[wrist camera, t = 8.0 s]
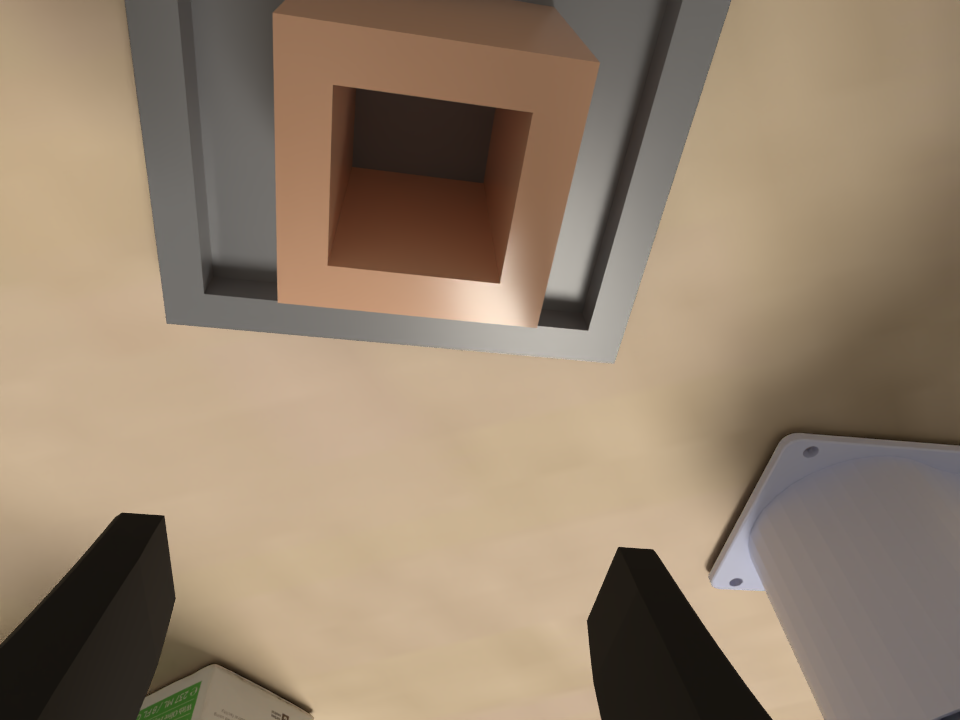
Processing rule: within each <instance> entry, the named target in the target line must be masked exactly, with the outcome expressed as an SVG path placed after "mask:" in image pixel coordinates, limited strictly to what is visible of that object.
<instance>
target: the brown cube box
mask: <svg viewBox="0 0 960 720" xmlns="http://www.w3.org/2000/svg"><path fill="white" fill-rule="evenodd" d="M599 65H600V62H599V61H598V59H597V58H596V57H595V56H594V55H593V53H592V52H591V51H590V50H589V49H588V47H587V46H586V45H585V44H584V43H583V41H582V40H581V39H580V38H579V36H578V35H577V34H576V33H575V32H574V30H573V29H572V28H571V27H570V26H569V24H568V23H567V22H566V21H565V19H564V18H563V17H562V16H561V15H560V13H559V12H558V11H557V10H556V9H555V7H552V6H545V5H539V4H533V3H527V2H521V1H515V0H285V1H284V2H283V3H282V4H281V5H280V6H279V7H278V8H277V9H276V10H275V11H274V12H273V68H274V124H275V181H276V237H277V294H278V303H284V304H294V305H305V306H315V307H325V308H336V309H346V310H356V311H366V312H377V313H387V314H397V315H407V316H418V317H428V318H438V319H448V320H459V321H469V322H479V323H489V324H500V325H510V326H520V327H530V328H537V326H538V322H539V318H540V313H541V309H542V305H543V301H544V297H545V292H546V288H547V284H548V280H549V276H550V271H551V267H552V263H553V259H554V255H555V250H556V246H557V242H558V238H559V234H560V229H561V225H562V221H563V217H564V213H565V208H566V204H567V200H568V196H569V191H570V187H571V183H572V179H573V175H574V170H575V166H576V162H577V158H578V154H579V149H580V145H581V141H582V137H583V133H584V128H585V124H586V120H587V116H588V112H589V107H590V103H591V99H592V95H593V90H594V86H595V82H596V78H597V74H598V69H599ZM356 88H360V89H367V90H374V91H382V92H389V93H396V94H403V95H410V96H417V97H424V98H431V99H439V100H446V101H453V102H460V103H467V104H474V105H481V106H489V107H496V109H495V115H494V121H493V127H492V133H491V140H490V146H489V152H488V158H487V164H486V171H485V177H484V183H477V182H469V181H461V180H453V179H445V178H437V177H429V176H421V175H413V174H405V173H397V172H389V171H381V170H373V169H365V168H357V167H352V161H353V141H354V120H355V99H356Z"/></svg>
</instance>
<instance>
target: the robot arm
mask: <svg viewBox="0 0 960 720" xmlns="http://www.w3.org/2000/svg"><path fill="white" fill-rule="evenodd" d="M809 447H810V448H809ZM807 448H808V449H807ZM708 577H709V580H710V582H711V585H712V586H713V587H714V588H718V589H733V590H755V591H766V593H767V595H768V598H769V600H770V602H771V604H772V606H773V609H774V611H775V613H776V615H777V617H778V619H779V622H780V624H781V626H782V628H783V630H784V633H785V635H786V637H787V639H788V641H789V644H790V646H791V648H792V650H793V652H794V654H795V657H796V659H797V661H798V663H799V665H800V668H801V670H802V672H803V674H804V676H805V679H806V681H807V683H808V685H809V687H810V690H811V692H812V694H813V696H814V698H815V700H816V703H817V705H818V707H819V709H820V711H821V714H822V716H823V718H824V720H960V446H958V445H945V444H933V443H920V442H907V441H895V440H882V439H869V438H856V437H844V436H831V435H818V434H805V433H792V434H789V435H787V436H785V437H784V438H782V440H781V441H780V442H779V444H778V446H777V447H776V449H775V451H774V453H773V455H772V457H771V459H770V461H769V462H768V464H767V466H766V468H765V470H764V472H763V474H762V476H761V477H760V479H759V481H758V483H757V485H756V487H755V489H754V491H753V492H752V494H751V496H750V498H749V500H748V502H747V504H746V506H745V507H744V509H743V511H742V513H741V515H740V517H739V519H738V521H737V522H736V524H735V526H734V528H733V530H732V532H731V534H730V536H729V537H728V539H727V541H726V543H725V545H724V547H723V549H722V551H721V552H720V554H719V556H718V558H717V560H716V562H715V564H714V566H713V567H712V569H711V571H710V573H709V576H708ZM175 599H176V598H175V591H174V584H173V576H172V569H171V561H170V554H169V547H168V539H167V532H166V524H165V517H164V516H162V515H148V514H133V513H121V514H120V515H118V516H116V517H115V518H114V519H113V521H112V522H111V523H110V524H109V525H108V527H107V528H106V529H105V530H104V531H103V533H102V534H101V535H100V536H99V537H98V538H97V540H96V541H95V542H94V543H93V544H92V545H91V547H90V548H89V549H88V550H87V551H86V552H85V554H84V555H83V556H82V557H81V558H80V559H79V561H78V562H77V563H76V564H75V565H74V566H73V567H72V568H71V570H70V571H69V572H68V573H67V574H66V575H65V576H64V577H63V578H62V580H61V581H60V582H59V583H58V584H57V585H56V586H55V587H54V588H53V590H52V591H51V592H50V593H49V594H48V595H47V596H46V597H45V598H44V599H43V600H42V601H41V603H40V604H39V605H38V606H37V607H36V608H35V609H34V610H33V611H32V612H31V613H30V614H29V615H28V616H27V617H26V618H25V619H24V620H23V622H22V623H21V624H20V625H19V626H18V627H17V628H16V629H15V630H14V631H13V632H12V633H11V634H10V635H9V636H8V637H7V638H6V639H5V640H4V642H3V643H2V644H1V645H0V720H136V719H137V717H138V714H139V712H140V709H141V706H142V704H143V701H144V699H145V696H146V694H147V691H148V689H149V686H150V683H151V681H152V678H153V676H154V673H155V670H156V668H157V665H158V661H159V658H160V654H161V651H162V647H163V644H164V640H165V637H166V633H167V629H168V625H169V621H170V618H171V614H172V610H173V606H174V602H175ZM587 625H588V636H589V646H590V656H591V665H592V673H593V682H594V687H595V692H596V697H597V701H598V706H599V710H600V715H601V720H772V718H771V717H770V716H769V715H768V713H767V712H766V711H765V709H764V708H763V707H762V706H761V704H760V703H759V702H758V700H757V699H756V698H755V696H754V695H753V693H752V692H751V691H750V689H749V688H748V687H747V685H746V684H745V683H744V681H743V680H742V679H741V677H740V676H739V674H738V673H737V672H736V670H735V669H734V667H733V666H732V665H731V663H730V662H729V660H728V659H727V658H726V656H725V655H724V653H723V652H722V651H721V649H720V648H719V646H718V645H717V644H716V642H715V641H714V639H713V638H712V636H711V635H710V633H709V632H708V630H707V629H706V628H705V626H704V625H703V623H702V622H701V620H700V619H699V617H698V616H697V614H696V613H695V611H694V610H693V608H692V607H691V605H690V604H689V602H688V601H687V599H686V598H685V596H684V595H683V593H682V592H681V590H680V589H679V587H678V585H677V584H676V582H675V581H674V579H673V578H672V576H671V575H670V573H669V572H668V570H667V569H666V567H665V566H664V564H663V563H662V561H661V560H660V558H659V557H658V555H657V554H656V552H655V551H654V550H653V549H639V548H625V547H618V549H617V551H616V554H615V556H614V558H613V561H612V563H611V566H610V568H609V570H608V573H607V575H606V577H605V580H604V582H603V584H602V587H601V589H600V591H599V594H598V596H597V598H596V601H595V603H594V605H593V608H592V610H591V613H590V615H589V617H588V620H587Z"/></svg>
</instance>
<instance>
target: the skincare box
mask: <svg viewBox="0 0 960 720" xmlns="http://www.w3.org/2000/svg"><path fill="white" fill-rule="evenodd" d="M136 720H314V717H313V716H312V715H310V714H309V713H307V712H306V711H304V710H303V709H301V708H299V707H297V706H296V705H294V704H292V703H290V702H288V701H287V700H285V699H283V698H281V697H279V696H277V695H276V694H274V693H272V692H270V691H268V690H267V689H265V688H263V687H261V686H259V685H257V684H255V683H253V682H251V681H249V680H247V679H246V678H244V677H242V676H240V675H238V674H236V673H234V672H232V671H230V670H228V669H226V668H224V667H222V666H220V665H217V664H212V665H209V666H207V667H204V668H203V669H201V670H199V671H197V672H196V673H194V674H192V675H190V676H188V677H185V678H183V679H181V680H179V681H176V682H174V683H172V684H170V685H168V686H166V687H164V688H162V689H161V690H159V691H157V692H155V693H153V694H151V695H149V696H147V697H145V699H144V701H143V704H142V706H141V709H140V712H139V714H138V717H137V719H136Z"/></svg>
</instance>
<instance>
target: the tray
mask: <svg viewBox="0 0 960 720" xmlns="http://www.w3.org/2000/svg"><path fill="white" fill-rule="evenodd" d="M284 1H285V0H125V7H126V14H127V22H128V30H129V37H130V45H131V53H132V60H133V68H134V76H135V83H136V91H137V99H138V106H139V114H140V122H141V130H142V137H143V145H144V153H145V160H146V168H147V176H148V183H149V191H150V199H151V206H152V214H153V222H154V229H155V237H156V245H157V252H158V260H159V268H160V275H161V283H162V291H163V298H164V306H165V314H166V322H167V324H177V325H189V326H200V327H211V328H222V329H233V330H244V331H256V332H267V333H278V334H289V335H300V336H312V337H323V338H334V339H345V340H356V341H367V342H379V343H390V344H401V345H412V346H423V347H434V348H446V349H457V350H468V351H479V352H490V353H501V354H513V355H524V356H535V357H546V358H557V359H568V360H580V361H591V362H602V363H613V364H614V363H615V360H616V357H617V353H618V350H619V347H620V344H621V341H622V338H623V335H624V332H625V329H626V326H627V322H628V319H629V316H630V313H631V310H632V307H633V304H634V301H635V298H636V294H637V291H638V288H639V285H640V282H641V279H642V276H643V273H644V270H645V267H646V263H647V260H648V257H649V254H650V251H651V248H652V245H653V242H654V239H655V235H656V232H657V229H658V226H659V223H660V220H661V217H662V214H663V211H664V207H665V204H666V201H667V198H668V195H669V192H670V189H671V186H672V183H673V180H674V176H675V173H676V170H677V167H678V164H679V161H680V158H681V155H682V152H683V148H684V145H685V142H686V139H687V136H688V133H689V130H690V127H691V124H692V120H693V117H694V114H695V111H696V108H697V105H698V102H699V99H700V96H701V93H702V89H703V86H704V83H705V80H706V77H707V74H708V71H709V68H710V65H711V61H712V58H713V55H714V52H715V49H716V46H717V43H718V40H719V37H720V33H721V30H722V27H723V24H724V21H725V18H726V15H727V12H728V9H729V6H730V2H731V0H515V1H521V2H527V3H533V4H539V5H545V6H552V7H555V9H556V10H557V11H558V12H559V13H560V15H561V16H562V17H563V18H564V19H565V21H566V22H567V23H568V24H569V26H570V27H571V28H572V29H573V30H574V32H575V33H576V34H577V35H578V36H579V38H580V39H581V40H582V41H583V43H584V44H585V45H586V46H587V47H588V49H589V50H590V51H591V52H592V53H593V55H594V56H595V57H596V58H597V59H598V61H599V62H600V65H599V69H598V74H597V78H596V82H595V86H594V90H593V95H592V99H591V103H590V107H589V112H588V116H587V120H586V124H585V128H584V133H583V137H582V141H581V145H580V149H579V154H578V158H577V162H576V166H575V170H574V175H573V179H572V183H571V187H570V191H569V196H568V200H567V204H566V208H565V213H564V217H563V221H562V225H561V229H560V234H559V238H558V242H557V246H556V250H555V255H554V259H553V263H552V267H551V271H550V276H549V280H548V284H547V288H546V292H545V297H544V301H543V305H542V309H541V313H540V318H539V322H538V326H537V328H530V327H520V326H510V325H500V324H489V323H479V322H469V321H459V320H448V319H438V318H428V317H418V316H407V315H397V314H387V313H377V312H366V311H356V310H346V309H336V308H325V307H315V306H305V305H294V304H284V303H278V294H277V237H276V181H275V124H274V68H273V12H274V11H275V10H276V9H277V8H278V7H279V6H280V5H281V4H282V3H283V2H284ZM495 109H496V107H489V106H481V105H474V104H467V103H460V102H453V101H446V100H439V99H431V98H424V97H417V96H410V95H403V94H396V93H389V92H382V91H374V90H367V89H360V88H356V99H355V120H354V141H353V161H352V167H357V168H365V169H373V170H381V171H389V172H397V173H405V174H413V175H421V176H429V177H437V178H445V179H453V180H461V181H469V182H477V183H484V177H485V171H486V164H487V158H488V152H489V146H490V140H491V133H492V127H493V121H494V115H495Z"/></svg>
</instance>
